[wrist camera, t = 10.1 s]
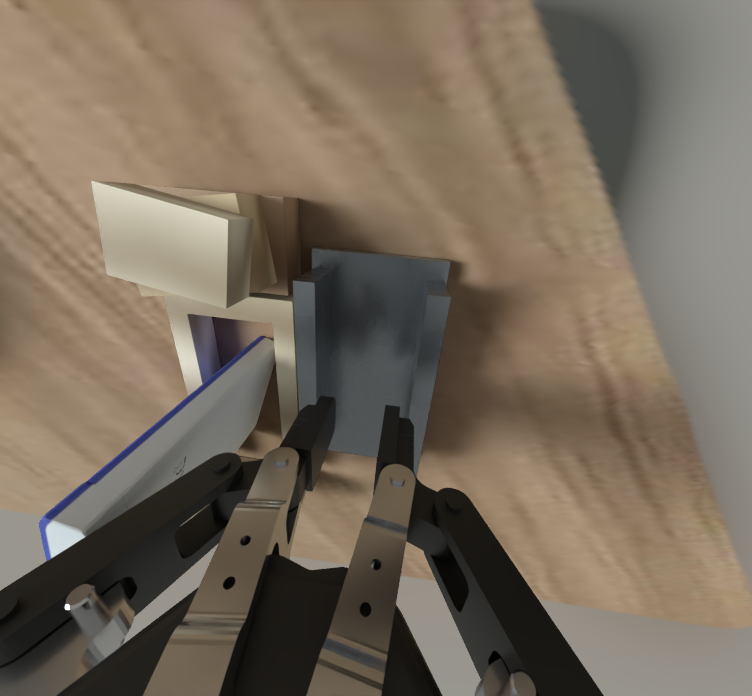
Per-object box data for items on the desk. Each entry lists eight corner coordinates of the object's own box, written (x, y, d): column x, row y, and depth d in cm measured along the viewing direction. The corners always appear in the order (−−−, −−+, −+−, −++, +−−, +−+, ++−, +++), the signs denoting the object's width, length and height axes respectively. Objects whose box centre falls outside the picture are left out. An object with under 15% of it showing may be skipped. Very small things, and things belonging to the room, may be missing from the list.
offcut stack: (170, 187, 16) (48, 176, 10) (298, 198, 15) (236, 192, 10) (188, 277, 18) (94, 306, 13) (301, 289, 17) (252, 325, 12)
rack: (186, 278, 18) (109, 302, 13) (305, 291, 17) (266, 321, 13) (225, 466, 25) (183, 523, 20) (310, 479, 24) (287, 541, 20)
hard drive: (235, 422, 22) (59, 632, 11) (258, 333, 19) (32, 513, 8) (255, 430, 23) (99, 645, 11) (280, 343, 19) (90, 535, 8)
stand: (316, 246, 16) (289, 257, 13) (448, 259, 15) (458, 274, 12) (318, 440, 22) (301, 482, 19) (413, 454, 22) (413, 500, 18)
